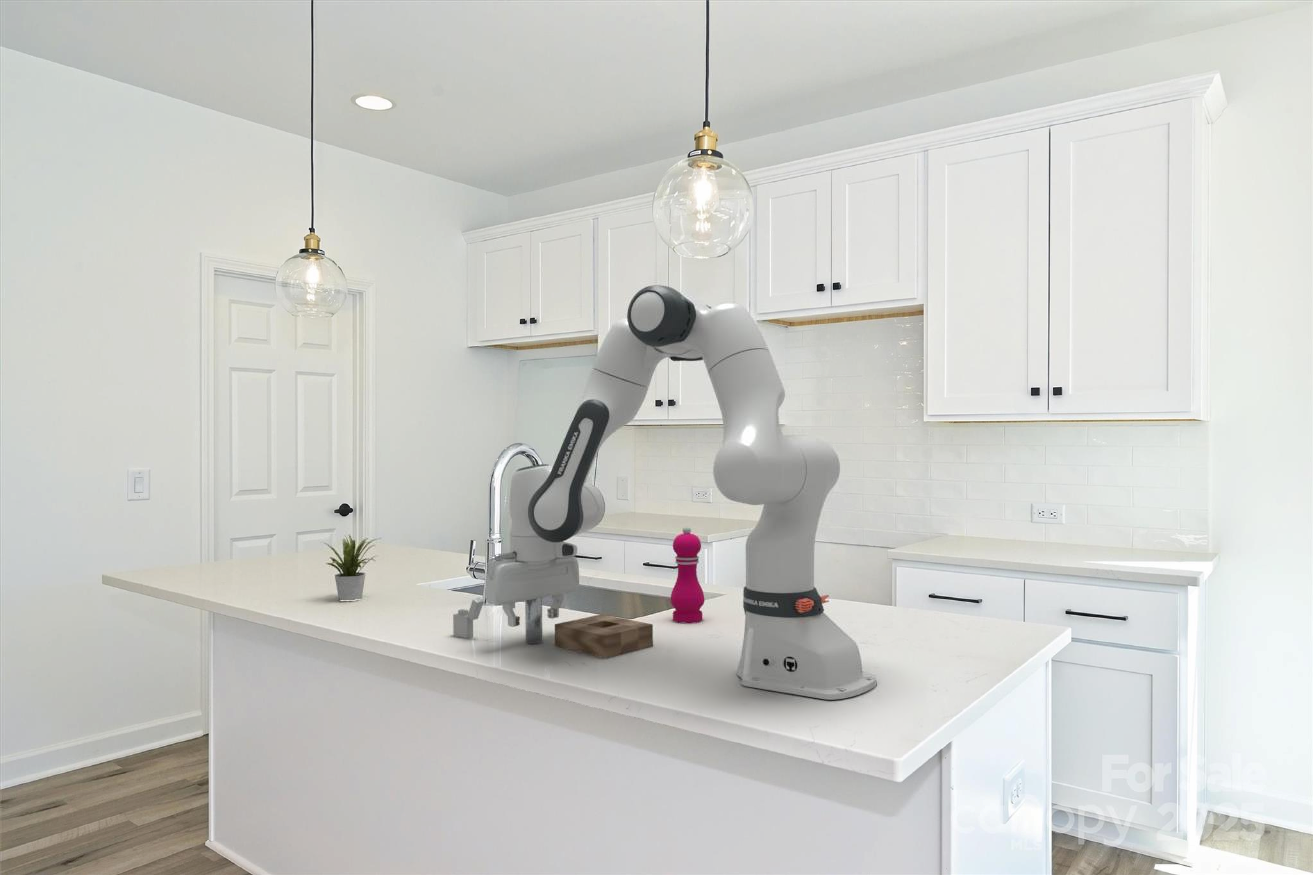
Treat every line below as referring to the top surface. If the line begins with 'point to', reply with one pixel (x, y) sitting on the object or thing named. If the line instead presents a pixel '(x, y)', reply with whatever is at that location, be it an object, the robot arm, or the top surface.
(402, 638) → the top surface
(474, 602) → the lighter
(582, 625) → the walnut hole block
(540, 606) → the steel peg
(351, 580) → the house plant
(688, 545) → the pepper mill
